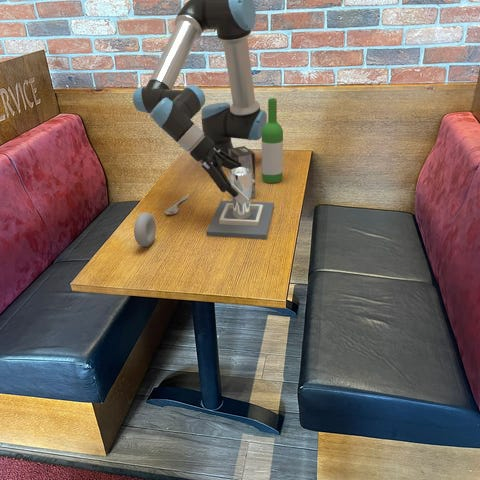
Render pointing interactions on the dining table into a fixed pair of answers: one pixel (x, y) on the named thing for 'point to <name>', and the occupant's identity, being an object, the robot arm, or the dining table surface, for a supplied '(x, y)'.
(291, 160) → the dining table surface
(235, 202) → the chrome tumbler
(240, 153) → the coffee box
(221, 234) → the grey square plate
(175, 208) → the spoon
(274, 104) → the wine bottle
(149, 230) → the donut
